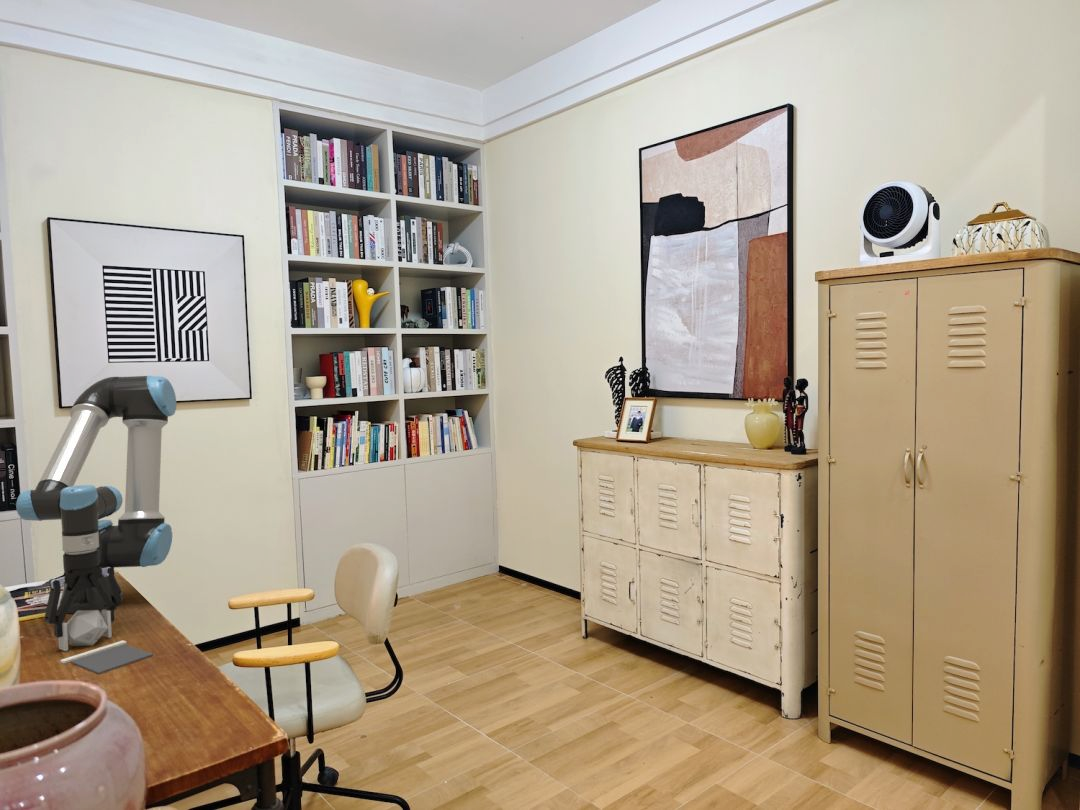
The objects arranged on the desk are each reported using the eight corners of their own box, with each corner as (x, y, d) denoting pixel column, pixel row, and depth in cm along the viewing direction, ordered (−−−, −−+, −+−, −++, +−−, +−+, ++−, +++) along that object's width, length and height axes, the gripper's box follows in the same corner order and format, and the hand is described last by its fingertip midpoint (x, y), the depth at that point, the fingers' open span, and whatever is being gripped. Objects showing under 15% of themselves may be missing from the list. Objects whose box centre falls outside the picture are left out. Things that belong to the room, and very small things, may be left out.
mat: (123, 642, 180) (122, 640, 180) (157, 654, 172) (157, 652, 172) (60, 662, 169) (60, 659, 169) (93, 675, 161) (93, 673, 161)
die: (75, 655, 174) (103, 618, 177) (47, 636, 175) (75, 599, 178) (95, 655, 182) (121, 620, 185) (68, 636, 183) (94, 601, 186)
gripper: (38, 563, 168) (43, 661, 169) (135, 542, 186) (139, 631, 187) (22, 558, 172) (27, 654, 173) (119, 539, 190) (123, 626, 191)
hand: (85, 642), depth 180 cm, fingers open, 9 cm apart
